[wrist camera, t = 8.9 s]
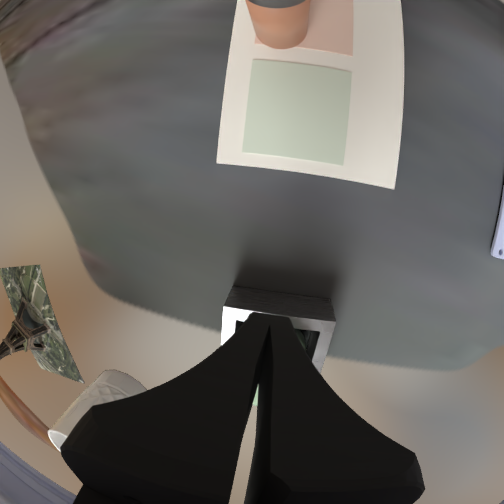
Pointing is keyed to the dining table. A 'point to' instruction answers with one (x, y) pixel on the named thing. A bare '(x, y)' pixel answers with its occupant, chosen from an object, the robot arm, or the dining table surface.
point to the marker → (279, 21)
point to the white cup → (94, 401)
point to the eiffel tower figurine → (35, 322)
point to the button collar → (281, 304)
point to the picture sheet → (319, 94)
